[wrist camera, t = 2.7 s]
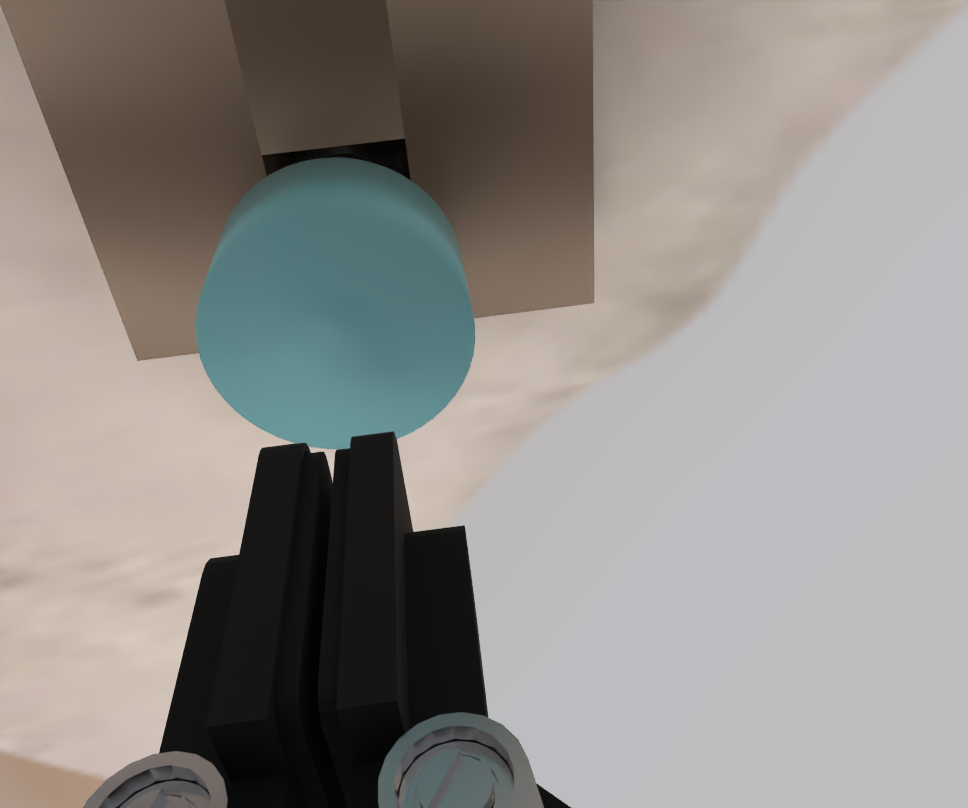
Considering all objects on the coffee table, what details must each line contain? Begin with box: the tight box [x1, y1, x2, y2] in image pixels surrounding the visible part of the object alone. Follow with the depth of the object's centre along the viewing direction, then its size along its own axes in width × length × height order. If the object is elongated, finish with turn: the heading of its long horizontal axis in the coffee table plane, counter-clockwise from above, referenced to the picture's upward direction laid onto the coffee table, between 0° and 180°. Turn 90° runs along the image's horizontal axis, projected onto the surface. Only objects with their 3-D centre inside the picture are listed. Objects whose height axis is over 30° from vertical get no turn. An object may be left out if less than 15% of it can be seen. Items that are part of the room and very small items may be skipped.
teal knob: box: [195, 154, 475, 449], centre depth 17 cm, size 5×5×6 cm
